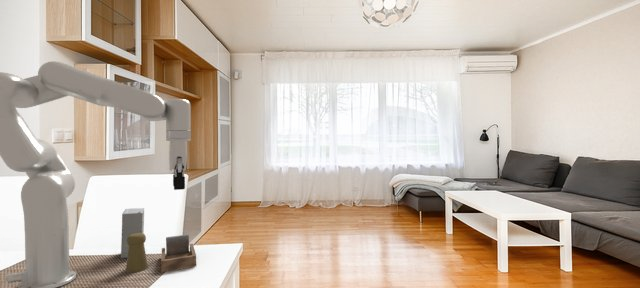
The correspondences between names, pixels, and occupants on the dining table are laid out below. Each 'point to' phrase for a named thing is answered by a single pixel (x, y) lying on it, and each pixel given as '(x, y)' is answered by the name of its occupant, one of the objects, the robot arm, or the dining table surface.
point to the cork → (136, 253)
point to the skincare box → (131, 227)
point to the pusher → (177, 244)
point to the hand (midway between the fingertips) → (178, 187)
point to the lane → (178, 260)
